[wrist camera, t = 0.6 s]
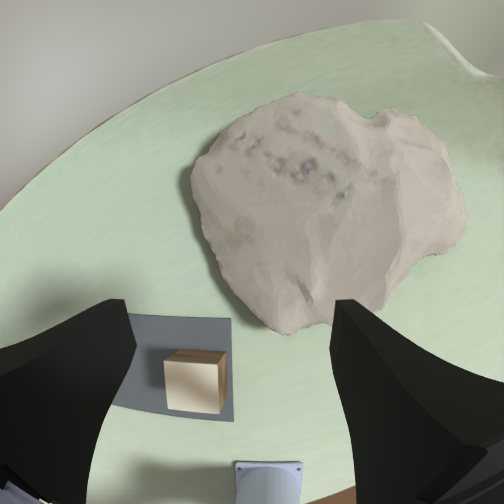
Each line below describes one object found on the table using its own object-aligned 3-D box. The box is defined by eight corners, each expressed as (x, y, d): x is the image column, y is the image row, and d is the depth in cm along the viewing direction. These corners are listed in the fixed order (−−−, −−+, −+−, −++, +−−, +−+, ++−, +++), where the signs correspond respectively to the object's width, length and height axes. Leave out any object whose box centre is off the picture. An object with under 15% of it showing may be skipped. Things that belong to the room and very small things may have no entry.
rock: (475, 267, 27) (239, 340, 31) (412, 98, 30) (193, 151, 34) (512, 264, 19) (221, 360, 23) (431, 65, 22) (168, 122, 26)
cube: (227, 394, 28) (219, 414, 23) (183, 391, 29) (167, 408, 24) (226, 351, 29) (216, 364, 24) (180, 348, 29) (163, 360, 24)
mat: (233, 420, 28) (233, 421, 28) (103, 401, 29) (102, 402, 29) (231, 318, 29) (230, 318, 29) (93, 310, 31) (92, 310, 30)
